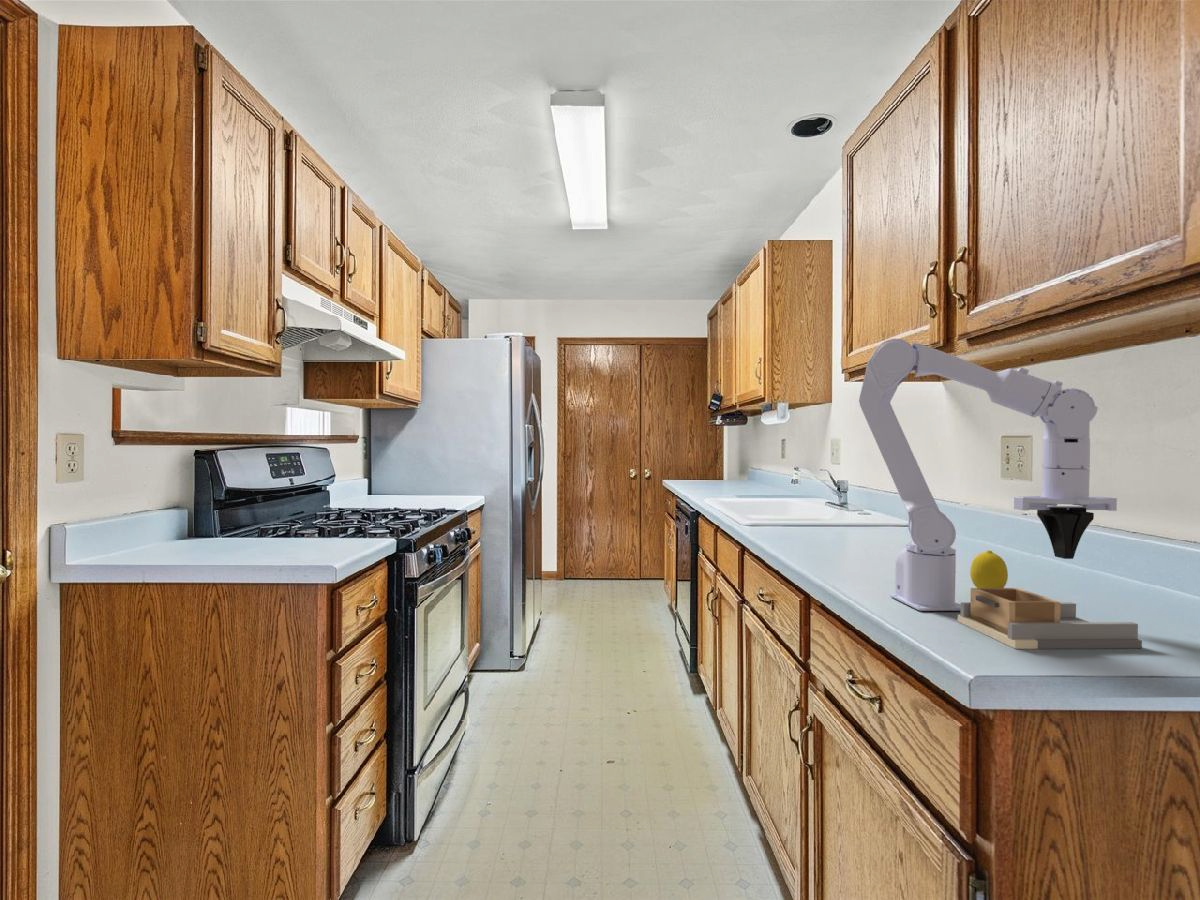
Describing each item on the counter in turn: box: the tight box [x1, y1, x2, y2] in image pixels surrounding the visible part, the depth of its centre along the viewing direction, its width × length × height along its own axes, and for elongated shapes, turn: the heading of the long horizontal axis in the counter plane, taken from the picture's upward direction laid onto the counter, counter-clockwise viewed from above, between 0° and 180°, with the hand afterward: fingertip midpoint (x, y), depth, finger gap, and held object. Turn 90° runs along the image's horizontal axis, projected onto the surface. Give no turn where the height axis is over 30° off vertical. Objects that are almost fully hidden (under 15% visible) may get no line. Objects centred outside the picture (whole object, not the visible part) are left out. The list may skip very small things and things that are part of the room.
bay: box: [957, 601, 1143, 650], centre depth 85 cm, size 12×17×3 cm
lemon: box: [969, 549, 1009, 588], centre depth 106 cm, size 6×6×8 cm
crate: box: [970, 587, 1061, 635], centre depth 85 cm, size 8×8×4 cm
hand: (1063, 557), depth 92 cm, fingers closed
